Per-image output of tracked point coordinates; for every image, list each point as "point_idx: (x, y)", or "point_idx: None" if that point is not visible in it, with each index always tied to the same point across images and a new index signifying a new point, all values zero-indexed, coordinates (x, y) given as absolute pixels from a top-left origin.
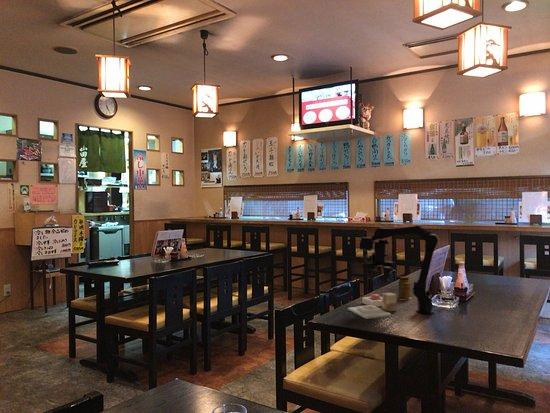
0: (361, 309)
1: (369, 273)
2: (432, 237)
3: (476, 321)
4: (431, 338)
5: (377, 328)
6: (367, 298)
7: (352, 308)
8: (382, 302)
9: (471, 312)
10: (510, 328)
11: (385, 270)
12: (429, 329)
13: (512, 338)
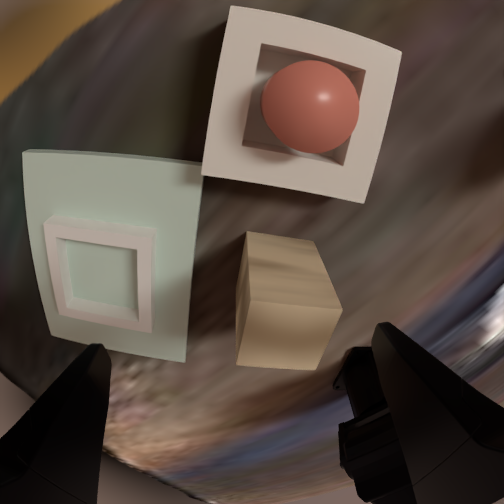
0: (53, 270)
1: (24, 454)
2: None
3: None
4: (164, 471)
5: None
6: (243, 61)
7: (37, 182)
8: (248, 253)
9: None
10: None
11: (456, 469)
12: (206, 455)
13: (310, 492)
